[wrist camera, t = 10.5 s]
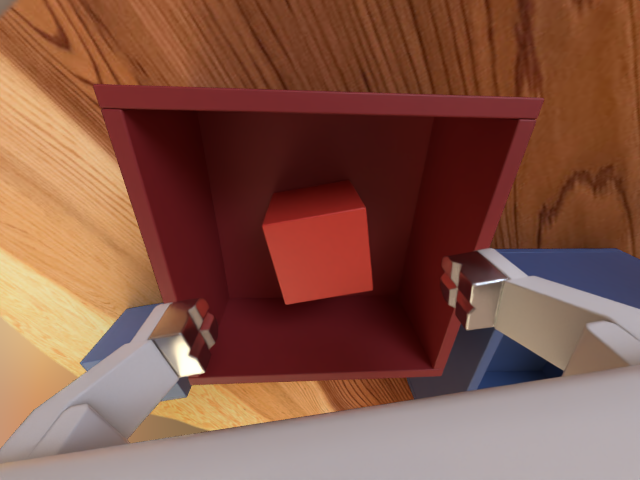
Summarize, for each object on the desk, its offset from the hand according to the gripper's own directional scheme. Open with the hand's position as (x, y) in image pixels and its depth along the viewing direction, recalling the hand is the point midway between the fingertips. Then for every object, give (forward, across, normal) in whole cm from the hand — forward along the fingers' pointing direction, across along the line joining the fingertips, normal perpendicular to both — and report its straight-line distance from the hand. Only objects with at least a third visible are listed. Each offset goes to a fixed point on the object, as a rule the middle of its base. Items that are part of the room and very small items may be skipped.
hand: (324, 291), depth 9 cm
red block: (+8, 0, +1) cm, 8 cm away
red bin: (+8, 0, +1) cm, 8 cm away
